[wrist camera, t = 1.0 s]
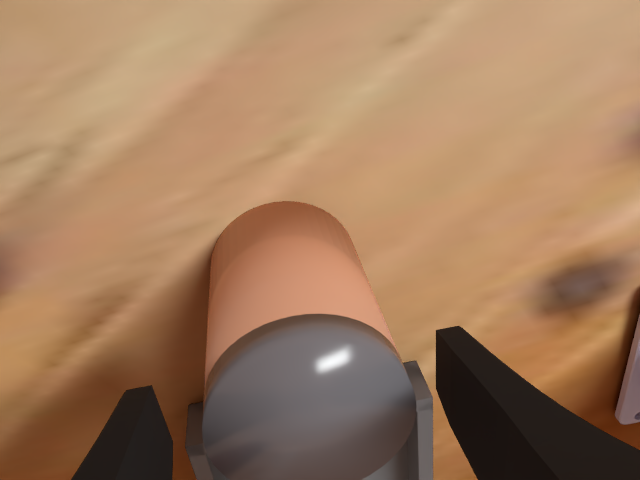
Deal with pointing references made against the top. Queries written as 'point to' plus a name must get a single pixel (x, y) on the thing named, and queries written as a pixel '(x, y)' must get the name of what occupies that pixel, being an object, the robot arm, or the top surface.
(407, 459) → the tray
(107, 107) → the top surface
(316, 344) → the jar
